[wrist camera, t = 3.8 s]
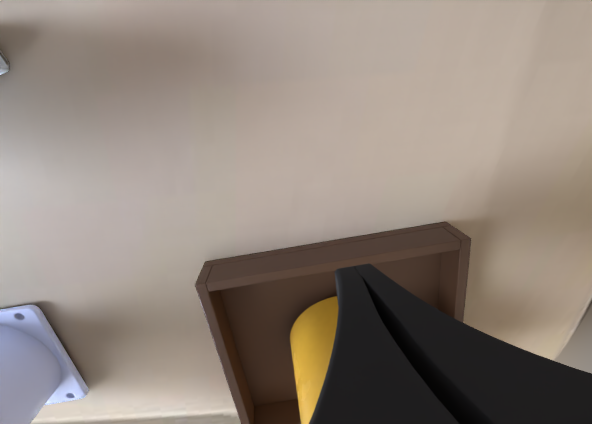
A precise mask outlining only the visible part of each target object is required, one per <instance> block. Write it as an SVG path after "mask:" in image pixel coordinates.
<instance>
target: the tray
mask: <svg viewBox="0 0 592 424" xmlns="http://www.w3.org/2000/svg"><path fill="white" fill-rule="evenodd" d="M470 246H471V238H470V237H468V236H467V235H465V234H464V233H462V232H461V231H459V230H458V229H456V228H455V227H453V226H451V225H450V224H449V223H447V222H441V223H435V224H429V225H423V226H417V227H411V228H405V229H399V230H393V231H387V232H381V233H375V234H369V235H363V236H357V237H351V238H345V239H339V240H333V241H327V242H321V243H315V244H309V245H303V246H297V247H291V248H285V249H279V250H273V251H267V252H261V253H255V254H249V255H243V256H237V257H231V258H225V259H219V260H213V261H207V262H205V263H204V265H203V268H202V270H201V272H200V275H199V277H198V279H197V282H196V284H195V287H196V290H197V293H198V296H199V299H200V302H201V305H202V308H203V311H204V314H205V317H206V320H207V323H208V326H209V329H210V332H211V335H212V338H213V341H214V344H215V347H216V350H217V353H218V356H219V359H220V362H221V365H222V368H223V371H224V374H225V377H226V380H227V382H228V385H229V388H230V391H231V394H232V397H233V400H234V403H235V406H236V409H237V412H238V415H239V418H240V421H241V424H301V419H300V411H299V404H298V396H297V389H296V381H295V374H294V366H293V359H292V351H291V344H290V333H291V329H292V327H293V325H294V323H295V321H296V320H297V318H298V317H299V316H300V315H301V314H302V313H303V312H304V311H305V310H306V309H308V308H309V307H310V306H312V305H314V304H316V303H317V302H320V301H322V300H324V299H327V298H331V297H335V296H337V290H336V281H335V271H336V270H337V269H339V268H345V267H351V266H357V265H362V264H368V263H370V264H371V265H373V266H374V267H375V268H377V269H378V270H379V271H381V272H382V273H384V274H385V275H386V276H388V277H389V278H390V279H392V280H393V281H394V282H396V283H397V284H399V285H400V286H402V287H403V288H405V289H406V290H407V291H409V292H410V293H412V294H413V295H415V296H417V297H418V298H420V299H421V300H423V301H425V302H426V303H428V304H430V305H431V306H433V307H435V308H436V309H438V310H440V311H441V312H443V313H445V314H447V315H449V316H451V317H453V318H455V319H457V320H458V321H460V322H462V323H463V316H464V306H465V296H466V286H467V276H468V266H469V256H470Z"/></svg>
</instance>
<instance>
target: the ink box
mask: <svg viewBox="0 0 592 424" xmlns="http://www.w3.org/2000/svg"><path fill="white" fill-rule="evenodd" d="M8 71H9V62H8V60H7V59H6V58H5V56H4V55H3V53H2V52H1V51H0V75H1V74H4V73H6V72H8Z"/></svg>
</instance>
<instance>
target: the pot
mask: <svg viewBox="0 0 592 424" xmlns="http://www.w3.org/2000/svg"><path fill="white" fill-rule="evenodd" d="M337 318H338V299H337V296H335V297H331V298H327V299H324V300H322V301H320V302H317V303H316V304H314V305H312V306H310V307H309V308H308V309H306V310H305V311H304V312H303V313H302V314H301V315H300V316H299V317H298V318H297V320H296V321H295V323H294V325H293V327H292V329H291V333H290V344H291V351H292V359H293V366H294V374H295V381H296V389H297V396H298V404H299V411H300V419H301V424H309V422H310V420H311V417H312V415H313V412H314V409H315V406H316V404H317V401H318V398H319V395H320V392H321V389H322V386H323V383H324V380H325V376H326V373H327V369H328V365H329V361H330V357H331V353H332V349H333V344H334V339H335V333H336V327H337Z"/></svg>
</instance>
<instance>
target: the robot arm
mask: <svg viewBox="0 0 592 424" xmlns="http://www.w3.org/2000/svg"><path fill="white" fill-rule="evenodd" d="M335 281H336V290H337V299H338V318H337V327H336V333H335V339H334V344H333V349H332V353H331V357H330V361H329V365H328V369H327V373H326V376H325V380H324V383H323V386H322V389H321V392H320V395H319V398H318V401H317V404H316V406H315V409H314V412H313V415H312V417H311V420H310V422H309V424H592V374H591V373H588V372H584V371H581V370H578V369H575V368H572V367H569V366H566V365H564V364H561V363H558V362H555V361H552V360H550V359H547V358H544V357H541V356H539V355H536V354H533V353H531V352H528V351H526V350H523V349H520V348H518V347H515V346H513V345H511V344H508V343H506V342H504V341H501V340H499V339H497V338H494V337H492V336H490V335H487V334H485V333H483V332H481V331H479V330H477V329H474V328H472V327H470V326H468V325H466V324H464V323H462V322H460V321H458V320H457V319H455V318H453V317H451V316H449V315H447V314H445V313H443V312H441V311H440V310H438V309H436V308H435V307H433V306H431V305H430V304H428V303H426V302H425V301H423V300H421V299H420V298H418V297H417V296H415V295H413V294H412V293H410V292H409V291H407V290H406V289H405V288H403V287H402V286H400V285H399V284H397V283H396V282H394V281H393V280H392V279H390V278H389V277H388V276H386V275H385V274H384V273H382V272H381V271H379V270H378V269H377V268H375V267H374V266H373V265H371V264H370V263H368V264H362V265H357V266H351V267H345V268H339V269H337V270H336V271H335ZM22 314H23V315H22ZM88 391H89V389H88V387H87V385H86V384H85V382H84V380H83V379H82V377H81V375H80V374H79V372H78V371H77V369H76V367H75V366H74V364H73V362H72V361H71V359H70V357H69V356H68V354H67V352H66V351H65V349H64V347H63V346H62V344H61V342H60V341H59V339H58V337H57V336H56V334H55V332H54V331H53V329H52V328H51V326H50V324H49V323H48V321H47V319H46V318H45V316H44V314H43V313H42V311H41V309H40V308H39V307H37V306H35V305H24V306H18V307H12V308H6V309H0V424H30V423H31V422H32V420H33V419H34V418H35V416H36V415H37V414H38V413H39V411H40V410H41V409H42V407H43V406H44V405H48V404H54V403H59V402H65V401H71V400H76V399H81V398H84V397H85V396H86V395H87V393H88Z"/></svg>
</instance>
